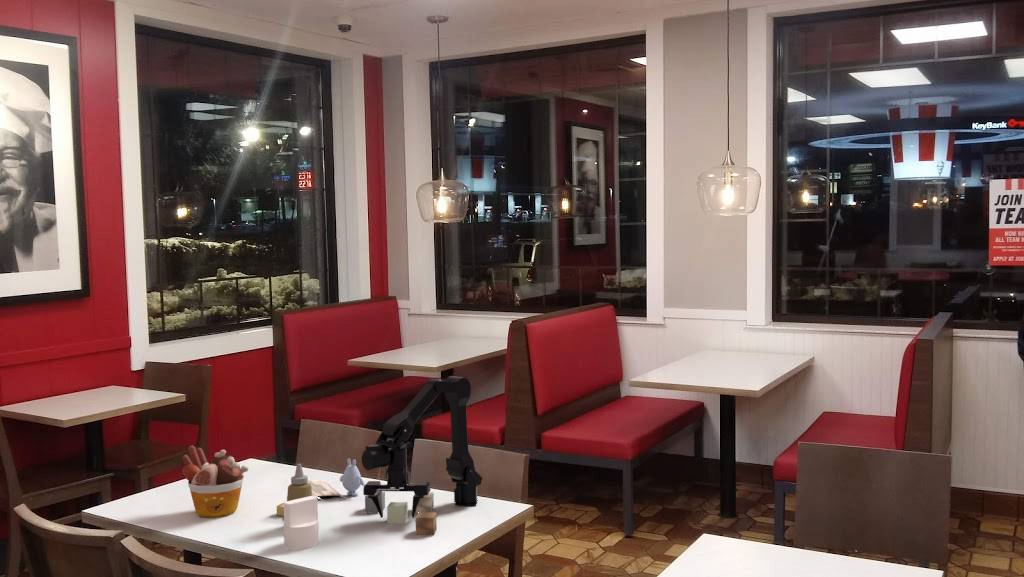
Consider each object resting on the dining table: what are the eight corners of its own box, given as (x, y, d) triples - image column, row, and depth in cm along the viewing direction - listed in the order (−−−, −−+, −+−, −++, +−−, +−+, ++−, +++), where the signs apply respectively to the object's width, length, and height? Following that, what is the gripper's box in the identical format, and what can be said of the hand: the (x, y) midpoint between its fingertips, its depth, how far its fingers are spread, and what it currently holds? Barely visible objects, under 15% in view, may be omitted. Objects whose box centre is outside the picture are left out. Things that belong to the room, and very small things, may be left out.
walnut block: (436, 530, 251) (436, 512, 251) (433, 535, 246) (433, 517, 246) (418, 529, 251) (418, 512, 251) (415, 535, 246) (415, 517, 246)
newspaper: (290, 488, 300) (290, 480, 300) (326, 487, 305) (326, 480, 305) (304, 504, 279) (305, 496, 279) (342, 503, 284) (343, 495, 284)
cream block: (433, 508, 272) (433, 492, 272) (431, 513, 267) (430, 496, 267) (417, 508, 272) (417, 492, 272) (414, 513, 267) (414, 496, 267)
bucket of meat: (259, 508, 273) (258, 444, 272) (222, 524, 258) (220, 455, 257) (209, 502, 281) (207, 439, 281) (169, 516, 266) (167, 450, 265)
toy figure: (371, 495, 287) (370, 458, 286) (357, 500, 282) (356, 462, 281) (347, 490, 293) (346, 454, 292) (333, 495, 288) (332, 458, 287)
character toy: (293, 509, 261) (271, 506, 264) (293, 520, 261) (271, 517, 264) (309, 502, 268) (287, 499, 271) (309, 512, 269) (287, 510, 271)
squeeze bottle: (320, 523, 257) (318, 461, 257) (305, 532, 250) (303, 468, 249) (296, 521, 260) (294, 460, 259) (280, 529, 252) (278, 466, 251)
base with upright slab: (307, 536, 246) (306, 493, 246) (325, 544, 240) (324, 499, 239) (277, 544, 240) (276, 500, 239) (295, 552, 233) (294, 506, 233)
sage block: (407, 519, 262) (407, 502, 261) (404, 524, 257) (404, 507, 256) (390, 518, 262) (390, 502, 262) (387, 524, 257) (387, 506, 257)
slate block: (385, 508, 273) (384, 491, 273) (381, 512, 268) (381, 496, 268) (368, 507, 273) (368, 491, 273) (365, 512, 268) (364, 496, 268)
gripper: (432, 458, 266) (433, 509, 267) (371, 457, 267) (371, 509, 268) (427, 466, 255) (427, 521, 255) (362, 466, 256) (363, 520, 257)
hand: (397, 517), depth 259 cm, fingers open, 9 cm apart
